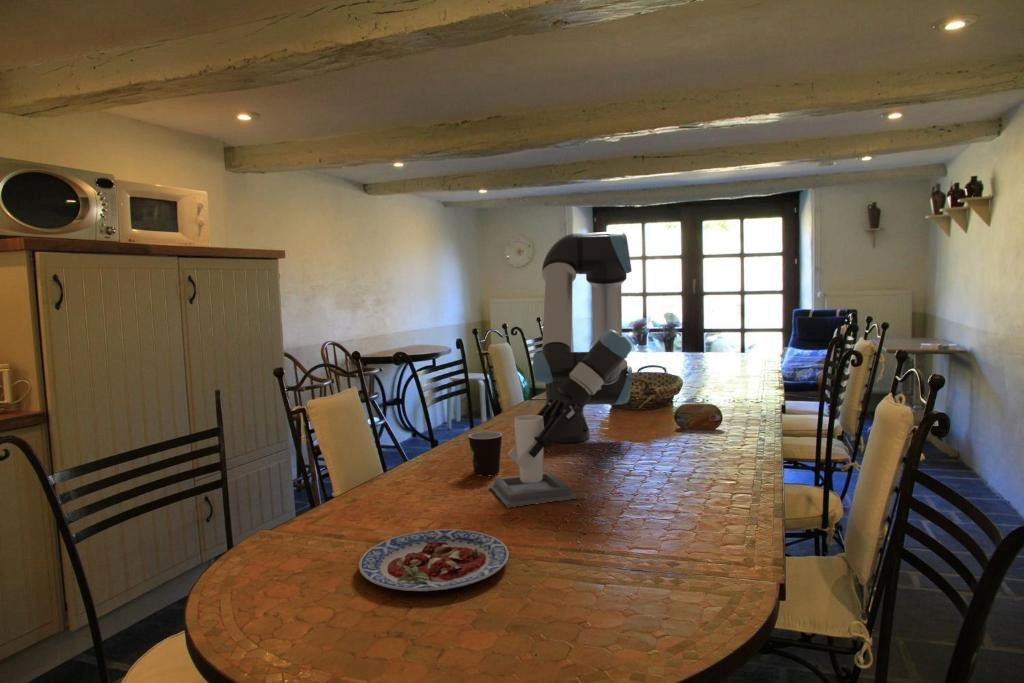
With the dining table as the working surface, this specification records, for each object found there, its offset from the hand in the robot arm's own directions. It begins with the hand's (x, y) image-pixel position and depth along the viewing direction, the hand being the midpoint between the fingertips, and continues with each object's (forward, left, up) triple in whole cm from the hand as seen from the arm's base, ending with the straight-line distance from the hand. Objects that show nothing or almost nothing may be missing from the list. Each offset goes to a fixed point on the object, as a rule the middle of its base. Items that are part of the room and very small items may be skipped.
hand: (515, 461), depth 155 cm
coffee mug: (-22, -1, -8) cm, 23 cm away
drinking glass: (0, +4, -5) cm, 6 cm away
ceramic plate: (+33, -24, -8) cm, 42 cm away
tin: (-44, +74, -8) cm, 87 cm away
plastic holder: (0, +4, -8) cm, 9 cm away
